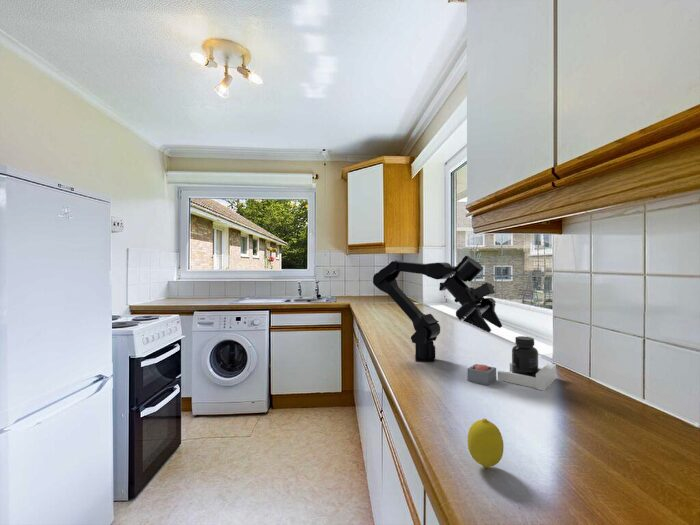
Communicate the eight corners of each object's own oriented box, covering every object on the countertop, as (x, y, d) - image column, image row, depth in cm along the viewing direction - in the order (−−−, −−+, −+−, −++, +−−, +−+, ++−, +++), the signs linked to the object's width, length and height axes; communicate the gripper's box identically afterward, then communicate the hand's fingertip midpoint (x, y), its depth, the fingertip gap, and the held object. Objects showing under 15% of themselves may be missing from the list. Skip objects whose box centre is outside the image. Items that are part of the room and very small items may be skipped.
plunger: (473, 378, 98) (473, 366, 98) (478, 375, 101) (478, 363, 101) (485, 381, 96) (485, 368, 96) (490, 378, 99) (490, 366, 99)
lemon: (494, 457, 59) (493, 411, 59) (510, 477, 54) (509, 426, 54) (462, 458, 59) (462, 412, 59) (475, 478, 53) (474, 427, 53)
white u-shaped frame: (496, 380, 98) (496, 366, 98) (511, 370, 107) (511, 357, 108) (544, 390, 90) (544, 375, 90) (556, 378, 99) (555, 364, 99)
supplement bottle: (506, 377, 101) (506, 336, 101) (522, 374, 103) (522, 334, 104) (527, 384, 94) (526, 341, 94) (544, 381, 97) (543, 338, 97)
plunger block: (467, 380, 98) (467, 368, 98) (475, 375, 103) (475, 363, 103) (488, 385, 94) (488, 372, 94) (496, 379, 99) (496, 367, 99)
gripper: (464, 275, 101) (504, 315, 94) (488, 273, 115) (524, 308, 107) (441, 300, 107) (476, 340, 99) (466, 295, 120) (499, 330, 113)
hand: (495, 329), depth 104 cm, fingers open, 9 cm apart
